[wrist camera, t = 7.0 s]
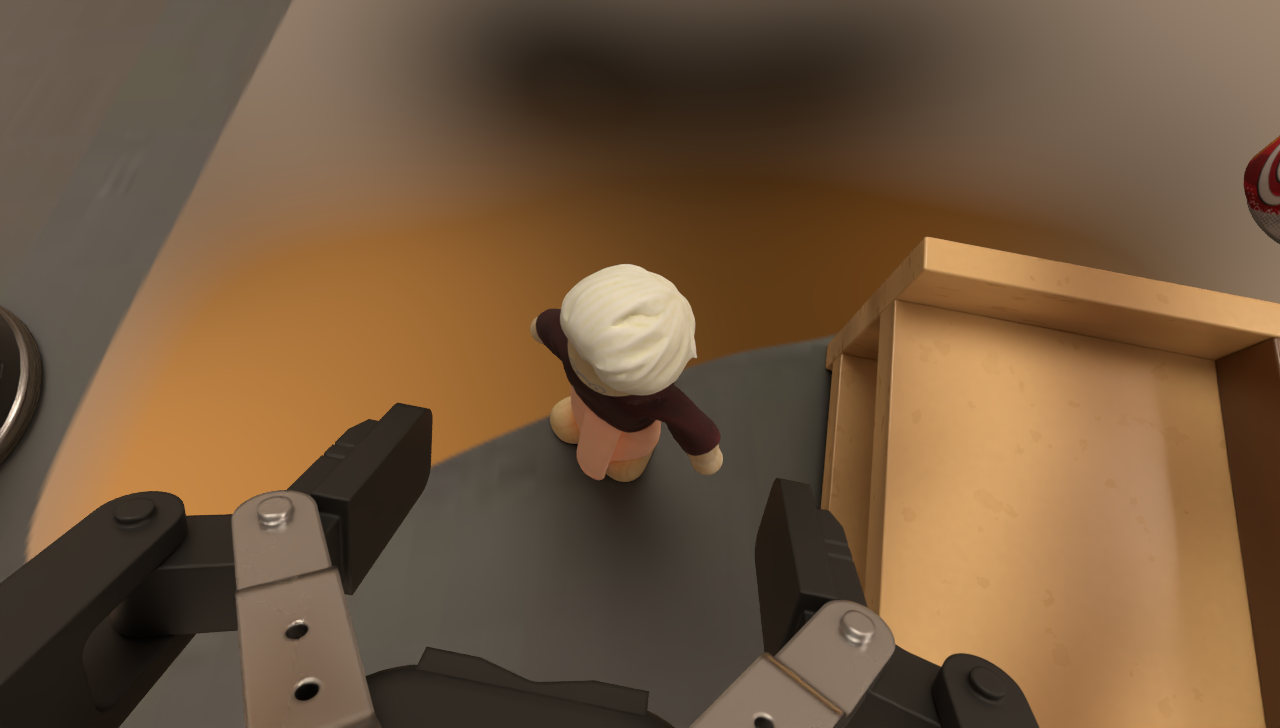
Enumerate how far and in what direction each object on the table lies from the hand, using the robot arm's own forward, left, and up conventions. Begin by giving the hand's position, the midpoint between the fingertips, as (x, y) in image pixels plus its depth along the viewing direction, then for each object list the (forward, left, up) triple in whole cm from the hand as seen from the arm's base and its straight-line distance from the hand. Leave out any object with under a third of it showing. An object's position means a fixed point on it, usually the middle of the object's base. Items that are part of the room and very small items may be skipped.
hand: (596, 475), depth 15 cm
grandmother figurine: (0, +3, -11) cm, 11 cm away
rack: (+14, +1, -11) cm, 18 cm away
